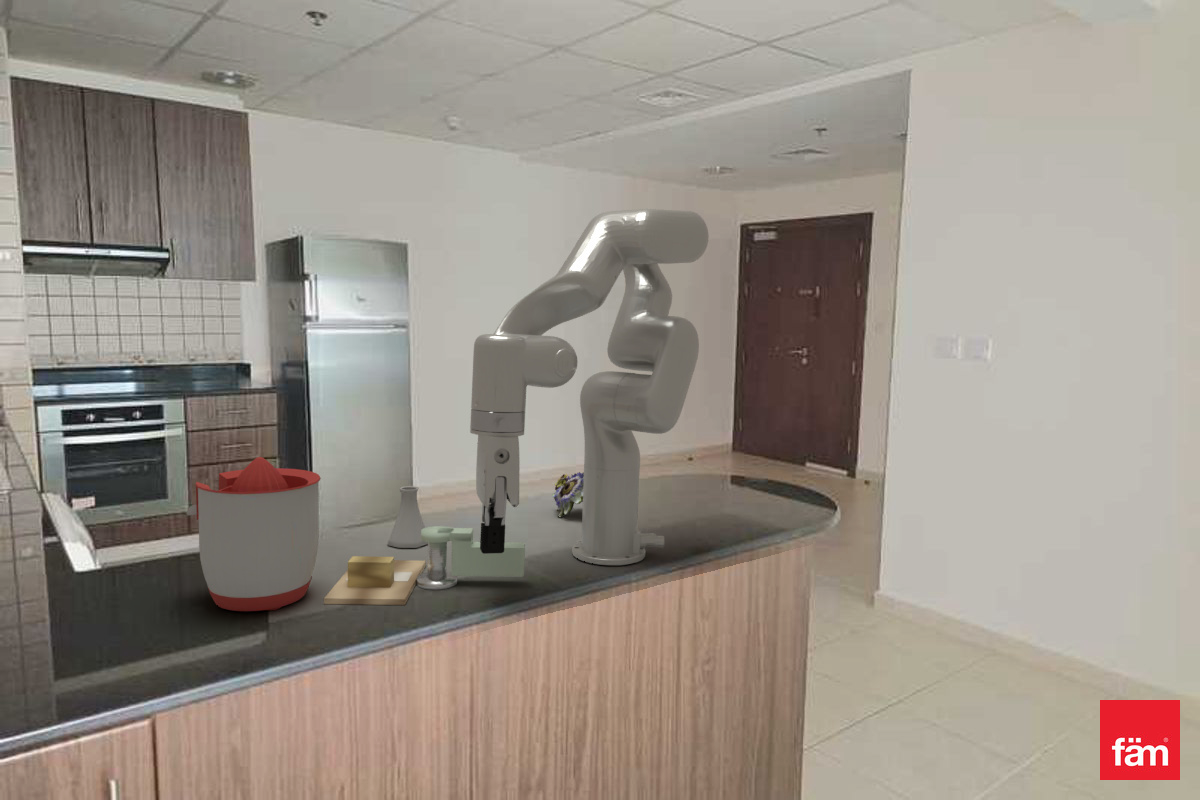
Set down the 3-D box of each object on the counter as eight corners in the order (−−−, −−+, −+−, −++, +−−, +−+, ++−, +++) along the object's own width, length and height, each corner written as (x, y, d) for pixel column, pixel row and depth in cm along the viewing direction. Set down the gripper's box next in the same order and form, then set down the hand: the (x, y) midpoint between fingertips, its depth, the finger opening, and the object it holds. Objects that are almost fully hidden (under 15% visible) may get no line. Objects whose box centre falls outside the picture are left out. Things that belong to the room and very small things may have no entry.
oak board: (425, 565, 122) (426, 538, 121) (405, 604, 105) (405, 573, 104) (356, 564, 121) (356, 537, 121) (323, 604, 104) (323, 572, 104)
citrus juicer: (223, 576, 113) (221, 444, 111) (337, 581, 113) (337, 449, 111) (159, 616, 98) (155, 464, 96) (292, 623, 97) (291, 470, 95)
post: (459, 576, 117) (460, 534, 116) (454, 590, 111) (455, 546, 110) (420, 575, 117) (420, 534, 116) (413, 589, 111) (413, 545, 110)
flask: (418, 551, 129) (419, 493, 128) (379, 547, 130) (380, 490, 129) (436, 539, 136) (437, 485, 135) (399, 536, 138) (399, 482, 136)
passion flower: (561, 543, 155) (538, 490, 159) (604, 526, 161) (580, 476, 165) (582, 524, 146) (557, 469, 150) (627, 507, 152) (601, 455, 156)
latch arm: (418, 577, 111) (418, 534, 111) (423, 567, 116) (424, 525, 115) (523, 579, 112) (524, 536, 112) (524, 568, 117) (525, 527, 116)
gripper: (534, 430, 100) (528, 566, 101) (514, 417, 114) (509, 537, 115) (477, 429, 98) (471, 568, 99) (464, 416, 112) (459, 538, 113)
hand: (491, 551), depth 107 cm, fingers closed
